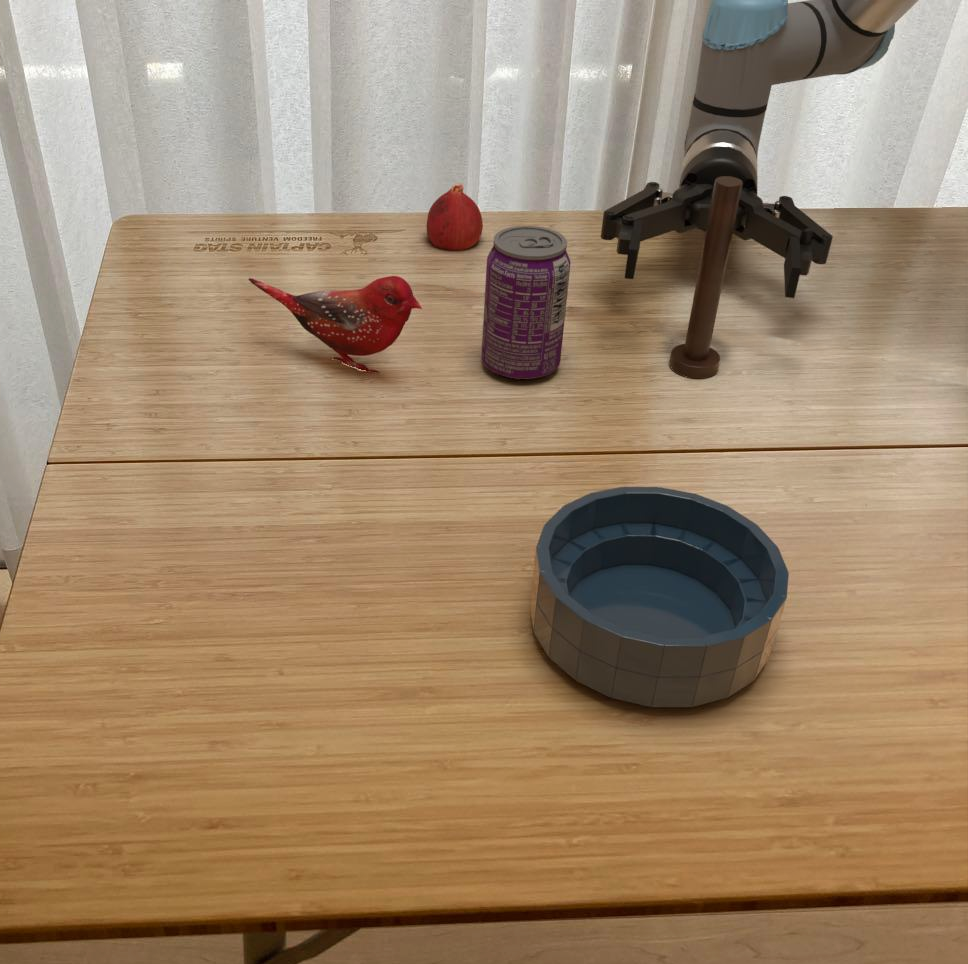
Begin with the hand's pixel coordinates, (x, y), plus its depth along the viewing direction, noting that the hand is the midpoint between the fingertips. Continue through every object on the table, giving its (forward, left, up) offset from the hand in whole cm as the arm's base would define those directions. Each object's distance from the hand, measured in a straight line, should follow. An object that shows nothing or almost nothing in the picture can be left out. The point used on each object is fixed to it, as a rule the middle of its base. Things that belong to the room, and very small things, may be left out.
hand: (711, 273), depth 94 cm
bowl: (-1, +35, -9) cm, 36 cm away
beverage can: (+15, +4, -10) cm, 18 cm away
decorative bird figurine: (+31, +9, -10) cm, 34 cm away
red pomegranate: (+27, -16, -10) cm, 33 cm away
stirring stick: (0, -1, -9) cm, 9 cm away
